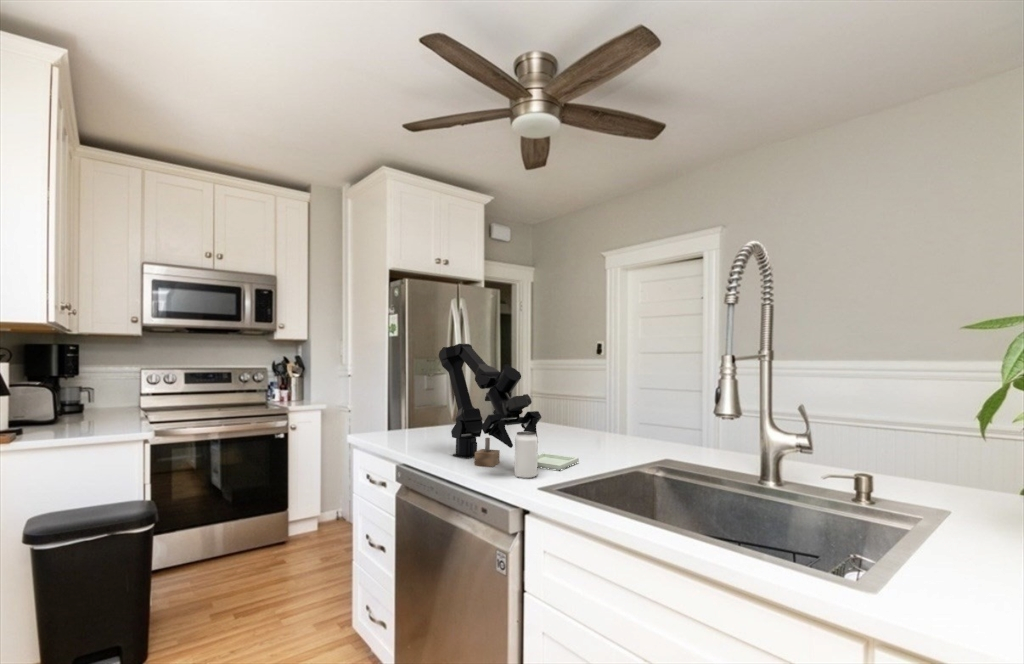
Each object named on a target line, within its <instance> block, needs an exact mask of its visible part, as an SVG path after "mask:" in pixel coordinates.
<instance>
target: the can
mask: <svg viewBox="0 0 1024 664" xmlns="http://www.w3.org/2000/svg"><path fill="white" fill-rule="evenodd" d="M537 438H538V435H537V436H536V433H535V432H524V431H517V432H516V436H515V438H514V475H515V477H516V476H517V477H516V478H519V477H520V479H533V478H532V477H534V478H536V477H537V476H538V468H537V460H538V455H539V454H538V453H539V452H538V443H539V441H538V440H539V439H537ZM535 476H536V477H535Z"/></svg>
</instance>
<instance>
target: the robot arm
mask: <svg viewBox="0 0 1024 664" xmlns="http://www.w3.org/2000/svg"><path fill="white" fill-rule="evenodd" d="M438 358H439V359H438V360H440V364H441V366H442V368H444V370H445V371H447V372H448V374H449V379H450V383H451V387H452V391H453V395H454V399H455V403H456V408H457V413H456V416H455V425H454V426H453V428H452V429H451V431H450V433H451V437H452V438H453V439H455V453H453V454H452V456H454V457H456V458H457V457H459V458H465V459H469V458H473V457H475V452H477V451H478V442H477V438H481V434H482V433H483V434H485V435H488V436H492V437H493V438H495V439H497V440H498V441H500V442H501V443H502V444H504V445H505V446H507V447H509V448H510V449H512V448H513V447H514V445H513V441H512V440H511V438H510V436H509V435H510V434H509V433H508V431H507V429H506V426H517V425H520V426H521V427H522V429H523V432H535V433H536V436H537V439H538V433H537V424H538V422H539V421H540V420H541V419H542V415H541V412H539V411H538V410H534V411H532V410H530V411H526V412H525V414H524V416H520V415H522V414H523V410H524V409H525V408H528V407H529V406H530V405H531V404H532V398H531V396H530V395H529V394H528V393H526V394H525V393H523V395H514V396H512V397H510V395H509V394H510V393H512V392H513V391H514V389H515V388H516V387H517V385H518V384H519V382H520V381H521V379H522V375H521V373H520V371H518V370H517V369H516V368H514V367H511V365H510V364H503V366H502V368H501V370H498V369H496V368H495V367H493V366H490V365H488V364H487V363H486V362H485V361H484V359H482V358H481V356H480V355H479V354H478V352H476V351H475V349H473V346H472V344H470V343H457V344H455V345H451V346H444V347H443V346H442V348H441V349H440V350H439V353H438ZM464 364H466V365H467V367H468V368H469V369H470V370H471V372H472V373H473V374H474V381H475V383H476V384H477V386H478V387H479V388H480V389H481V390H488V391H487V392H485V393H486V394H485V397H484V402H490V403H491V405H492V406H493V409H494V410H493V412H492V414H491V413H490V414H488V415H487V416H486V418H485V419H484V421H483V417H482V414H481V410H480V408H478V407H476V408H475V407H474V406H473V402H472V401H471V396H470V392H469V389H468V385H467V381H466V377H465V373H464V370H463V366H464ZM538 440H539V439H538Z"/></svg>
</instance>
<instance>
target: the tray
mask: <svg viewBox="0 0 1024 664" xmlns="http://www.w3.org/2000/svg"><path fill="white" fill-rule="evenodd" d="M579 461H580V460H579V457H573V456H567V455H561V454H551V453H545V452H542V453H539V454H538V460H537V467H542V468H541V469H543V468H549V469H548V470H550V469H556V470H561V469H564V468H566V467H568V466H570V465H572V464H575V463H577V462H579ZM579 463H580V462H579ZM566 469H567V468H566ZM556 470H555V471H556ZM564 470H565V469H564Z"/></svg>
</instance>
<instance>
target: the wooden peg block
mask: <svg viewBox="0 0 1024 664" xmlns="http://www.w3.org/2000/svg"><path fill="white" fill-rule="evenodd" d="M484 440H485V441H484V448H481V449H478V450H477V452H475V456H474V466H475V467H485V468H486V467H487V468H494V467H496V466H497V465H499V464H500V454H501V453H500V449H490V446H491V445H490V444H491V438H490V437H485V438H484ZM498 463H499V464H498ZM495 465H496V466H495Z"/></svg>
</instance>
